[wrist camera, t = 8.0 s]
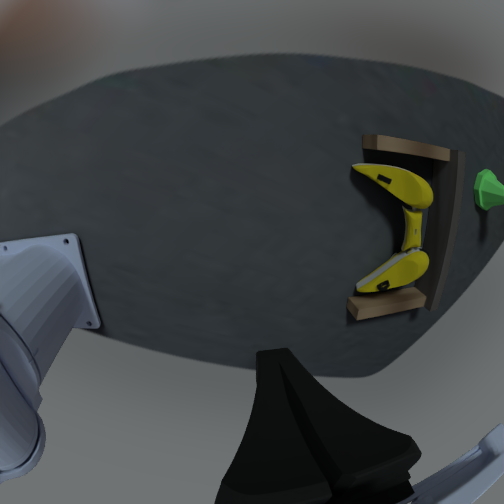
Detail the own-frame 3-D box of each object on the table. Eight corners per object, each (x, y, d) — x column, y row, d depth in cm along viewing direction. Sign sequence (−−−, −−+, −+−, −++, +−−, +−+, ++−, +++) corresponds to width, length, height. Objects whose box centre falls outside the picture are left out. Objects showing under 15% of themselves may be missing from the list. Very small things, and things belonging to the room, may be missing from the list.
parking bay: (346, 307, 22) (361, 327, 20) (362, 134, 17) (385, 134, 15) (419, 294, 24) (437, 309, 21) (441, 148, 18) (465, 152, 16)
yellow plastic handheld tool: (420, 272, 22) (431, 292, 18) (354, 276, 23) (357, 297, 20) (423, 160, 18) (440, 165, 15) (349, 161, 20) (353, 167, 17)
